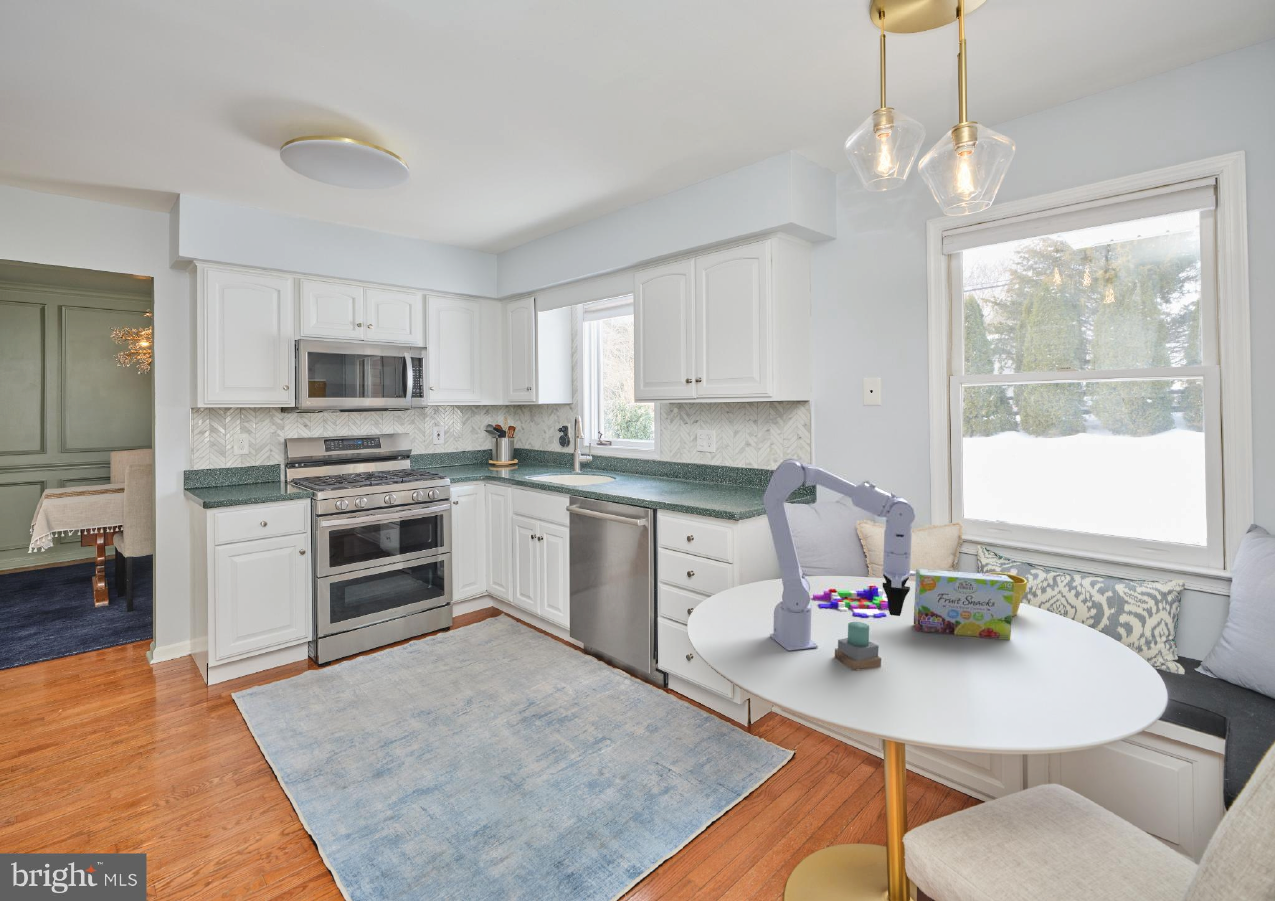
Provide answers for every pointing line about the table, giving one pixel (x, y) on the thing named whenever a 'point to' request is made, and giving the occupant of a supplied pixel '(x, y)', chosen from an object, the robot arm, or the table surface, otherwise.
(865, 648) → the grey top block
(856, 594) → the building block set
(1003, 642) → the table surface
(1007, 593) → the snack box
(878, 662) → the walnut base block
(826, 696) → the table surface
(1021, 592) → the plant pot
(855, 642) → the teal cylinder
